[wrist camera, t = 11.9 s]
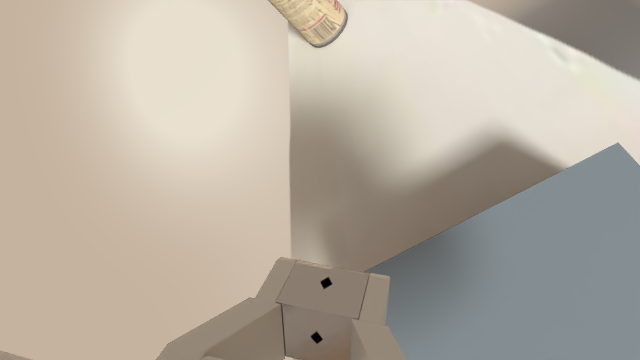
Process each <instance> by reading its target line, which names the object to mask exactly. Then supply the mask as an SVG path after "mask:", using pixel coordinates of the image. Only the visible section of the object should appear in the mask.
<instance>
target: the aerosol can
mask: <svg viewBox="0 0 640 360" xmlns="http://www.w3.org/2000/svg"><path fill="white" fill-rule="evenodd" d="M268 1H269V2H270V3H271V4H272V5H273V6H274V7H275V8H276V9H277V10H278V11H279V12H280V13H281V14H282V15H283V16H284V17H285V18H286V19H287V20H288V21H289V22H290V23H291V24H292V25H293V26H294V27H295V28H296V29H297V30H298V31H299V32H300V33H301V34H302V36H303V37H304V38H305V39H306V40H307V41H308V42H310V44H311V45H312V46H314V47H318V48H320V47H324V46H326V45H328V44H330V43H332V42H333V41H334V40H335V39H336V38H337V37H338V36H339V35H340V34H341V33H342V31H343V29H344V28H345V26H346V23H347V19H348V18H347V13H346V11H345V10H344V8H343V7H342V6H341V5H340V3H339V2H338V1H337V0H268Z"/></svg>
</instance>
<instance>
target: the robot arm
mask: <svg viewBox="0 0 640 360" xmlns="http://www.w3.org/2000/svg"><path fill="white" fill-rule="evenodd" d="M389 286H390V276H386V275H380V274H373V273H371V274H370V273H365V272H359V271H353V270H347V269H342V268H336V267H330V266H325V265H320V264H315V263H310V262H305V261H300V260H293V259H288V258H283V257H281V258H279V259H278V260H277V261H276V263H275V265H274V266H273V268H272V270H271V271H270V273H269V275H268V277H267V278H266V280H265V282H264V284H263V285H262V287H261V289H260V291H259V292H258V294H257V296H256V298H255V299H254V298H248V299H246V300H245V301H243V302H241V303H239V304H238V305H236V306H234V307H232V308H230V309H229V310H227V311H225V312H223V313H222V314H220V315H218V316H216V317H214V318H213V319H211V320H209V321H207V322H206V323H204V324H202V325H200V326H198V327H197V328H195V329H193V330H191V331H190V332H188V333H186V334H184V335H182V336H181V337H179V338H177V339H175V340H174V341H172V342H170V343H168V344H167V346H166V347H165V348H164V350H163V351H162V352H161V354H160V355H159V357H158V358H157V359H156V360H283V359H285V356H287V357H292V358H297V359H301V360H406V358H405V356H404V354H403V353H402V351H401V349H400V347H399V345H398V344H397V342H396V340H395V338H394V336H393V335H392V333H391V331H390V329H389V327H388V326H385V324H386V315H387V306H388V296H389ZM0 360H31V359H28V358H24V357H21V356H17V355H14V354H10V353H7V352H3V351H0Z"/></svg>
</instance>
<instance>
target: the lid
mask: <svg viewBox="0 0 640 360" xmlns="http://www.w3.org/2000/svg"><path fill="white" fill-rule="evenodd" d="M365 273H370V274H371V273H373V274H380V275H386V276H390V286H389V296H388V306H387V315H386V324H385V326H388V327H389V329H390V331H391V333H392V335H393V336H394V338H395V340H396V342H397V344H398V345H399V347H400V349H401V351H402V353H403V354H404V356H405V358H406V360H640V165H639V164H638V163H637V162H636V161H635V160H634V159H633V158H632V157H631V156H630V155H629V154H628V153H627V151H626V150H625V149H624V148H623V147H622V146H621V145H620V144H619V143H616V144H614V145H612V146H610V147H608V148H606V149H604V150H602V151H600V152H599V153H597V154H595V155H593V156H591V157H589V158H587V159H585V160H583V161H581V162H579V163H577V164H575V165H573V166H571V167H569V168H567V169H565V170H563V171H561V172H559V173H557V174H555V175H553V176H551V177H549V178H548V179H546V180H544V181H542V182H540V183H538V184H536V185H534V186H532V187H530V188H528V189H526V190H524V191H522V192H520V193H518V194H516V195H514V196H512V197H510V198H508V199H506V200H504V201H502V202H500V203H498V204H497V205H495V206H493V207H491V208H489V209H487V210H485V211H483V212H481V213H479V214H477V215H475V216H473V217H471V218H469V219H467V220H465V221H463V222H461V223H459V224H457V225H455V226H453V227H451V228H449V229H447V230H446V231H444V232H442V233H440V234H438V235H436V236H434V237H432V238H430V239H428V240H426V241H424V242H422V243H420V244H418V245H416V246H414V247H412V248H410V249H408V250H406V251H404V252H402V253H400V254H398V255H397V256H395V257H393V258H391V259H389V260H387V261H385V262H383V263H381V264H379V265H377V266H375V267H373V268H371V269H369V270H367V271H365Z"/></svg>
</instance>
